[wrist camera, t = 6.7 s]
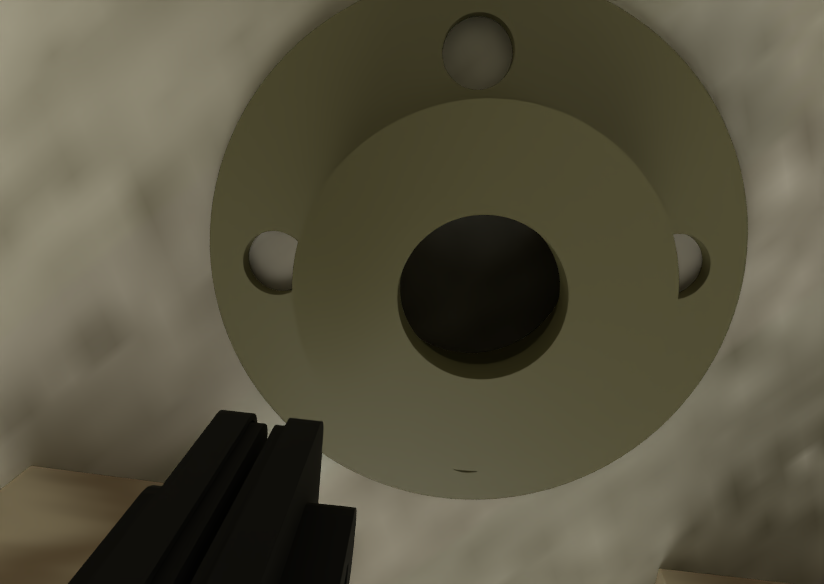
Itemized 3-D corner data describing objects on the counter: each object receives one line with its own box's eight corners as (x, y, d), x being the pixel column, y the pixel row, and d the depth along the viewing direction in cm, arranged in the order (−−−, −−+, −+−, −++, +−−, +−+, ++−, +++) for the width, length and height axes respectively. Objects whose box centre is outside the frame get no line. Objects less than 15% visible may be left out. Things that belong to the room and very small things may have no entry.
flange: (104, -79, 11) (180, 577, 15) (908, -93, 11) (779, 597, 14) (200, -16, 16) (240, 477, 20) (767, -23, 15) (697, 488, 19)
